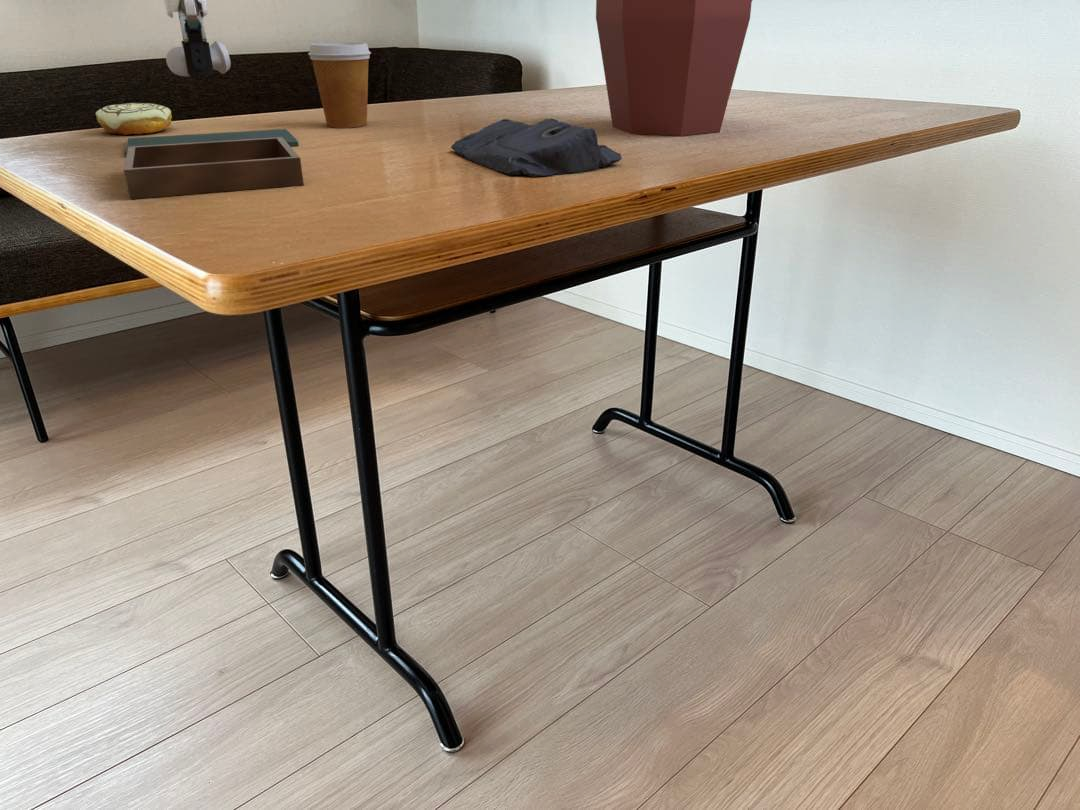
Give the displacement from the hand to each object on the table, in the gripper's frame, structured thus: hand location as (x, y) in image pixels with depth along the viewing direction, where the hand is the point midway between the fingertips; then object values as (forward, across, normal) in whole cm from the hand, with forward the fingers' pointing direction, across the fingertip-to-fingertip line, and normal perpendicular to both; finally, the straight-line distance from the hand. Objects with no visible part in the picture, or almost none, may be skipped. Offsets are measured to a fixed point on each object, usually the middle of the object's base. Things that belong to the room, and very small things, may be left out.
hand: (200, 72), depth 112 cm
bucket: (+10, +12, +66) cm, 68 cm away
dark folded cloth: (+10, +28, +37) cm, 47 cm away
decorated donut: (+10, -19, -10) cm, 24 cm away
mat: (+10, -1, 0) cm, 10 cm away
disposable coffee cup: (+10, -12, +21) cm, 26 cm away
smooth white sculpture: (+1, 0, 0) cm, 1 cm away
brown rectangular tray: (+10, +25, -1) cm, 27 cm away
